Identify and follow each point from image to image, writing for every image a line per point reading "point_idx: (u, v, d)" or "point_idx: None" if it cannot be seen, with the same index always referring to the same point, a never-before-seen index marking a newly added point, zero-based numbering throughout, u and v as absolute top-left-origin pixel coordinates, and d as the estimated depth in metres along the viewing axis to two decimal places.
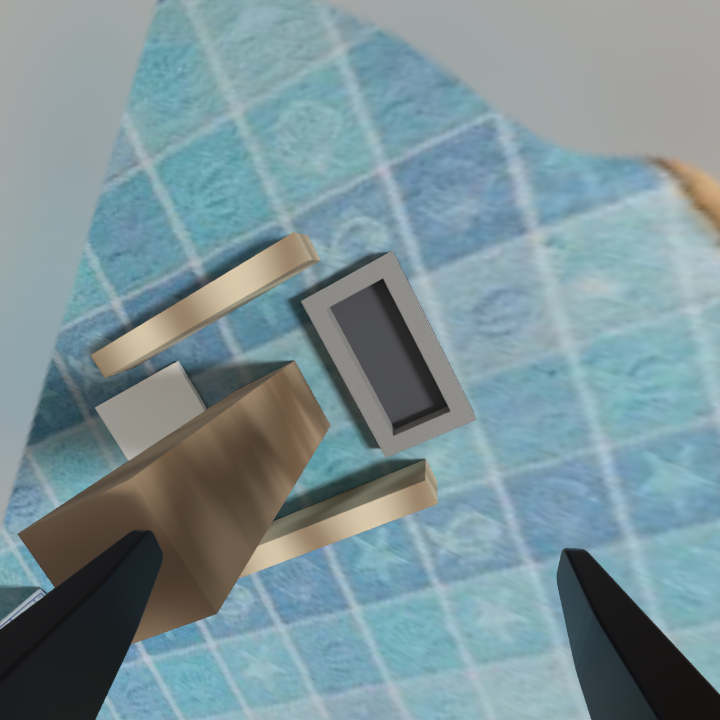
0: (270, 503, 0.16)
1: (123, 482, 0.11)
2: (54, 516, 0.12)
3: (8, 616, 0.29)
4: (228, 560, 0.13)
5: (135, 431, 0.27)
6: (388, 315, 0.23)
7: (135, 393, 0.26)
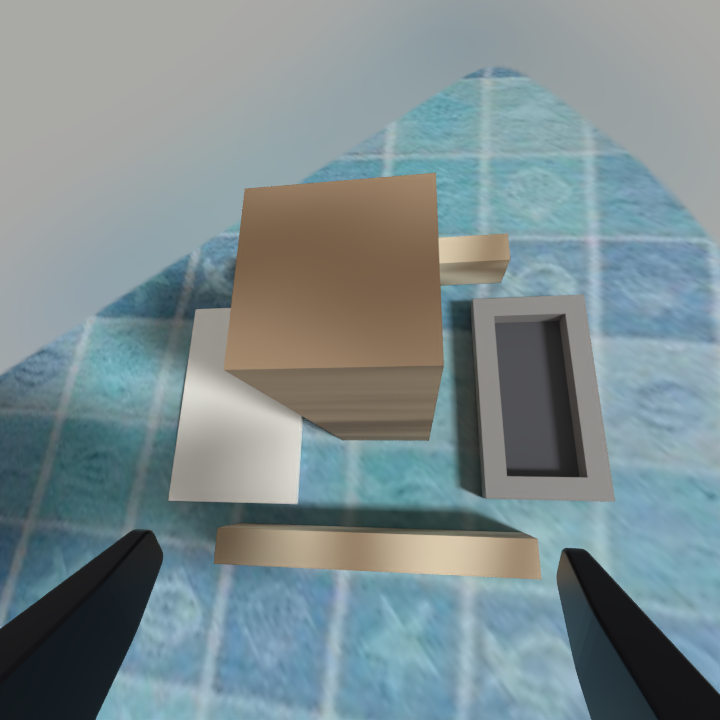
0: None
1: (421, 176, 0.09)
2: (307, 184, 0.10)
3: None
4: None
5: (218, 349, 0.24)
6: (547, 355, 0.21)
7: None
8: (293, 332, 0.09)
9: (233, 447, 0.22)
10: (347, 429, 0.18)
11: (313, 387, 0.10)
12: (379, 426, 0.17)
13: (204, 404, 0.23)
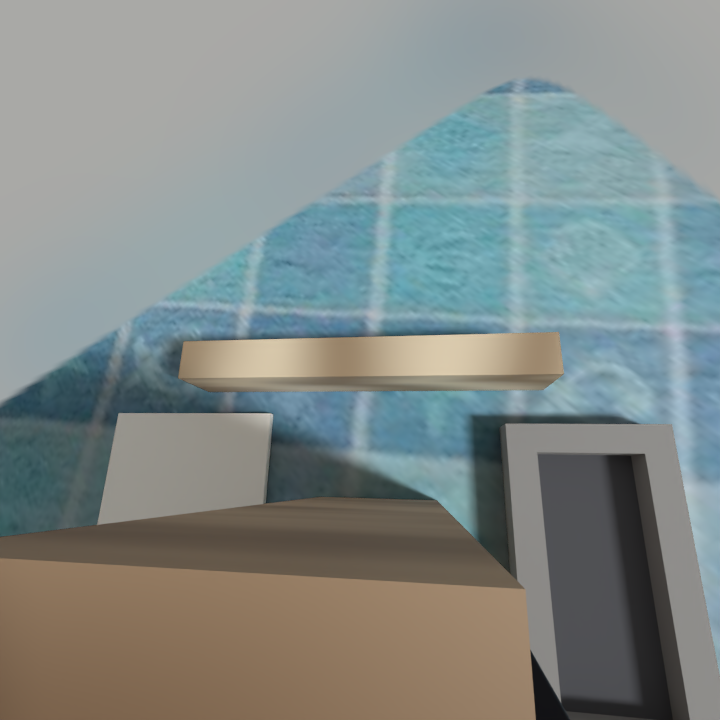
0: None
1: (467, 585, 0.03)
2: (71, 564, 0.03)
3: None
4: None
5: (144, 475, 0.17)
6: (615, 510, 0.15)
7: (186, 424, 0.18)
8: None
9: None
10: None
11: None
12: None
13: None
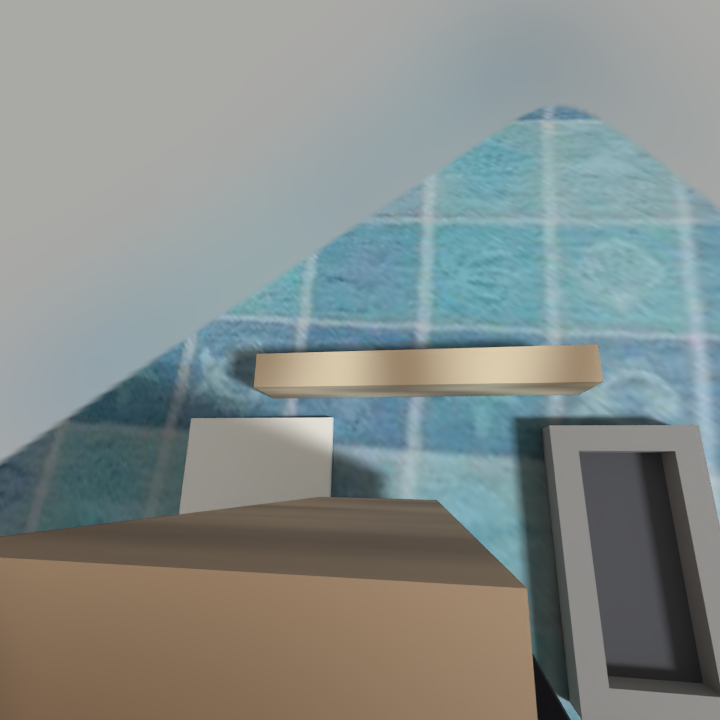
0: None
1: (469, 584, 0.03)
2: (73, 563, 0.03)
3: None
4: None
5: (219, 474, 0.19)
6: (648, 501, 0.16)
7: (254, 427, 0.20)
8: None
9: None
10: None
11: None
12: None
13: None
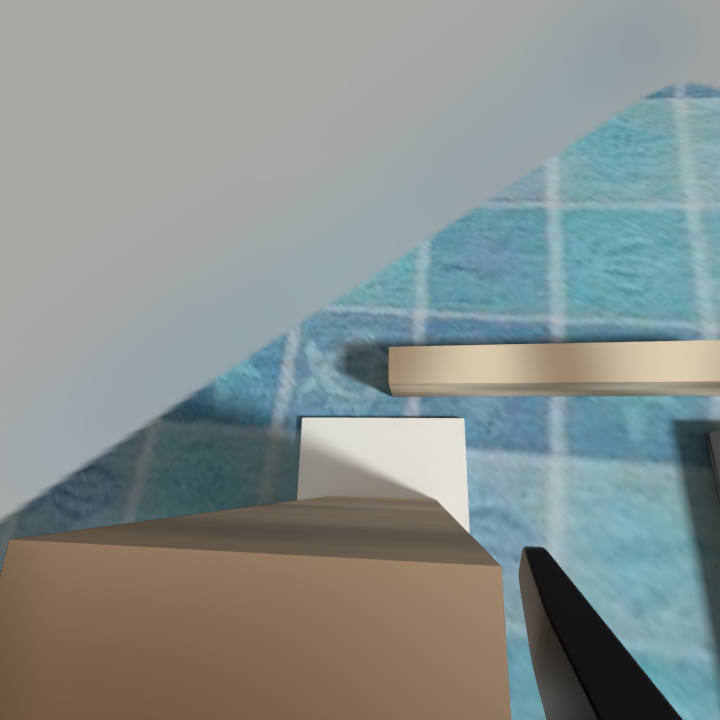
0: None
1: (459, 564, 0.03)
2: (158, 548, 0.04)
3: None
4: None
5: (338, 479, 0.17)
6: None
7: (376, 429, 0.18)
8: None
9: None
10: None
11: None
12: None
13: None
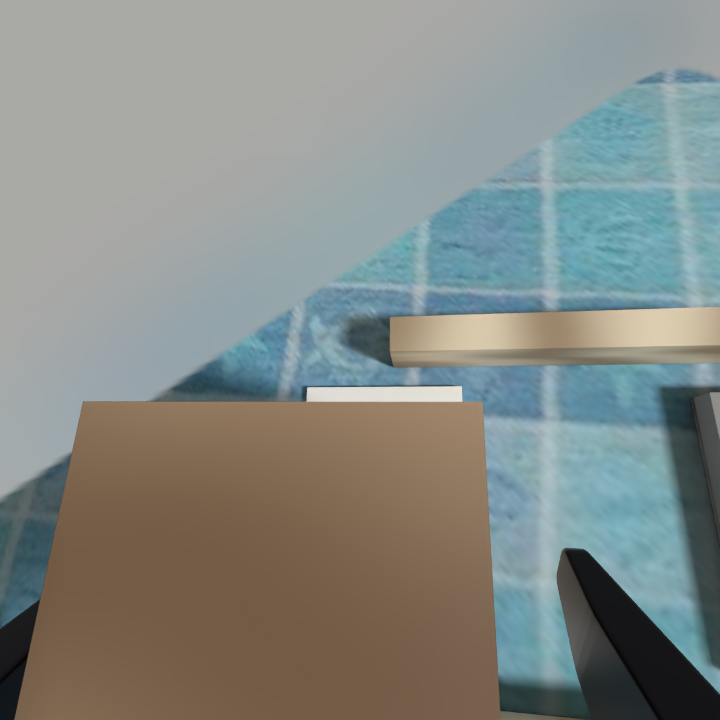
0: None
1: (450, 403, 0.04)
2: (207, 403, 0.05)
3: None
4: None
5: None
6: None
7: (377, 397, 0.19)
8: None
9: None
10: None
11: None
12: None
13: None
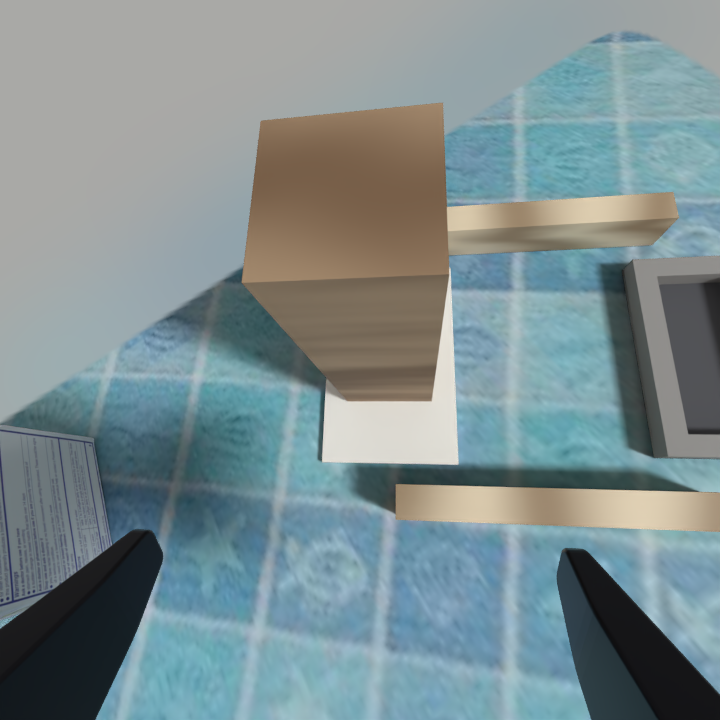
0: None
1: (429, 106, 0.10)
2: (320, 115, 0.10)
3: (58, 434, 0.22)
4: None
5: None
6: (710, 316, 0.21)
7: None
8: (307, 248, 0.09)
9: (385, 409, 0.22)
10: (353, 382, 0.18)
11: (324, 311, 0.11)
12: (384, 377, 0.17)
13: None
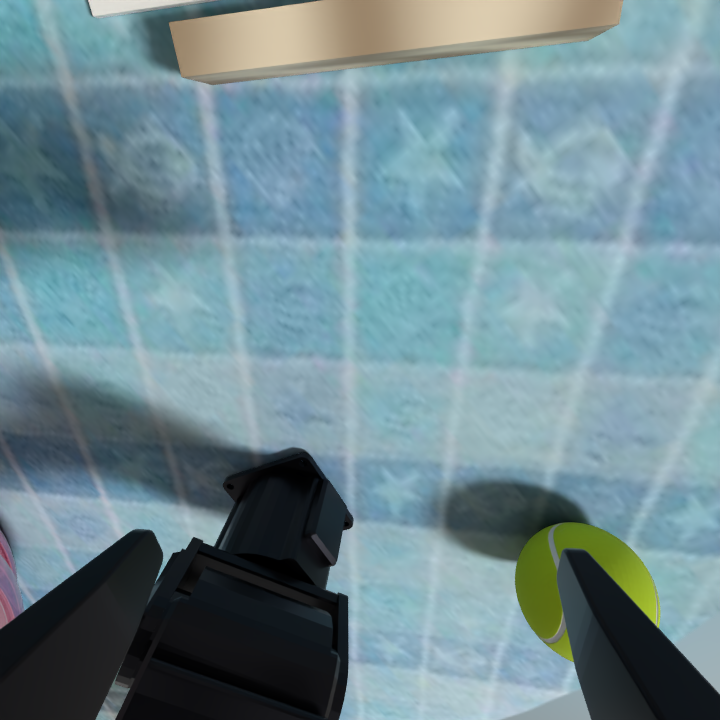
0: None
1: None
2: None
3: None
4: None
5: None
6: None
7: None
8: None
9: None
10: None
11: None
12: None
13: None
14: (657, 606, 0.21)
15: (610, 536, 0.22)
